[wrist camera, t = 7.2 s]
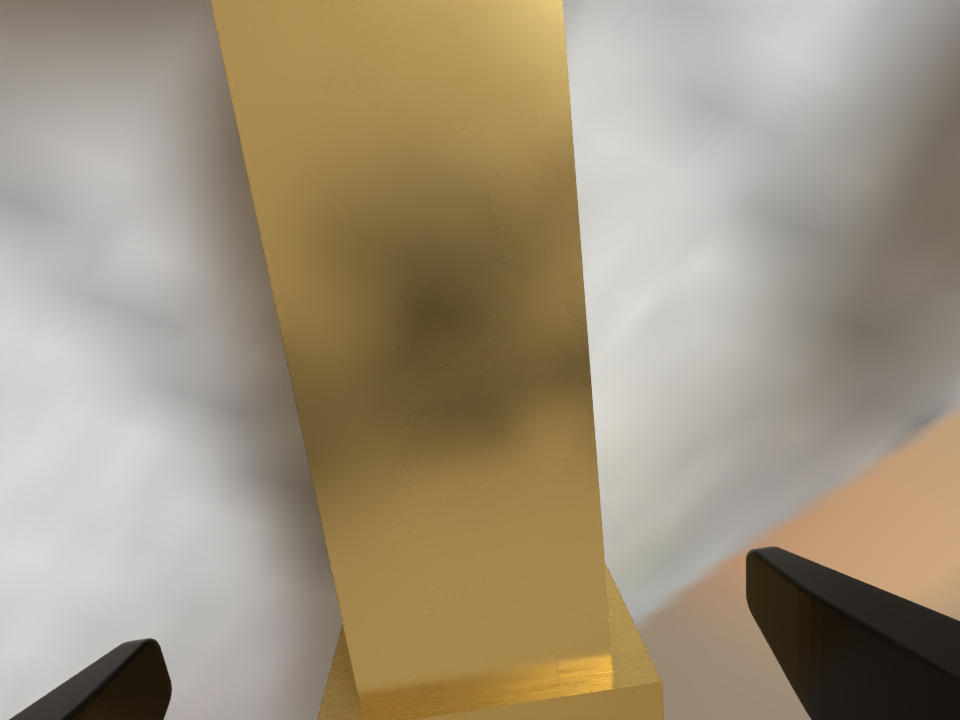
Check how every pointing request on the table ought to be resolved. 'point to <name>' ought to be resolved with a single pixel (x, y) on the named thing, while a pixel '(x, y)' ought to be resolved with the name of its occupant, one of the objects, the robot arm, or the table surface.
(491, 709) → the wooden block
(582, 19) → the table surface
